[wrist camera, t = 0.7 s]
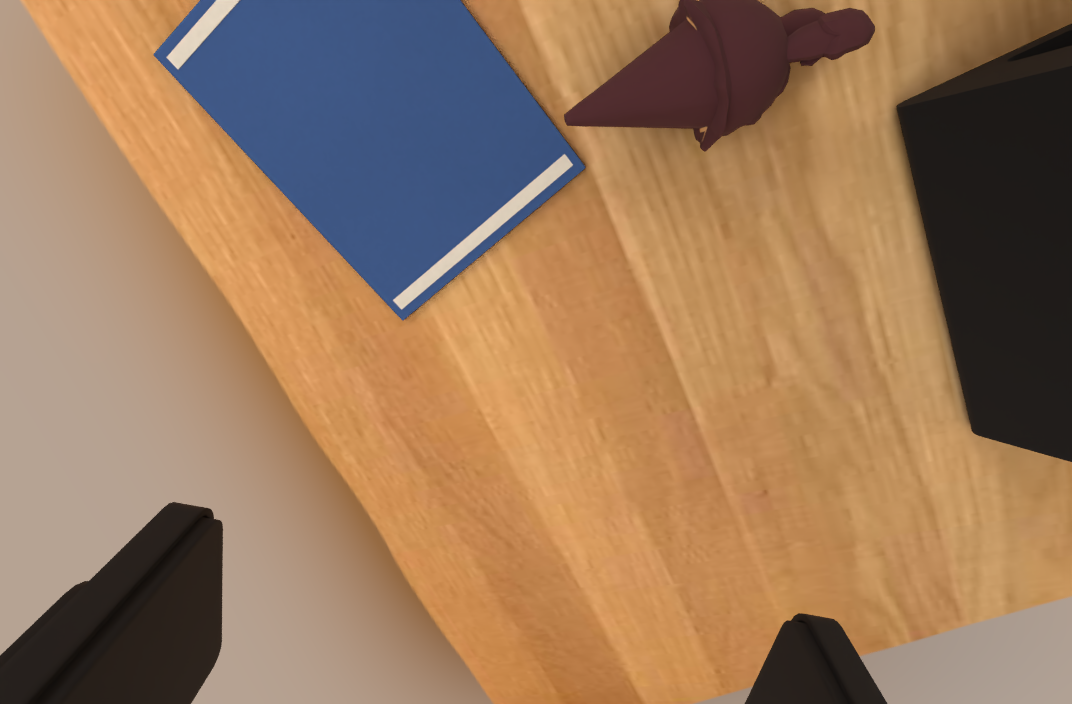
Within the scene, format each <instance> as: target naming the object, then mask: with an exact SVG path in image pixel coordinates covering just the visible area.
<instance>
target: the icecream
mask: <svg viewBox="0 0 1072 704" xmlns="http://www.w3.org/2000/svg"><path fill="white" fill-rule="evenodd" d="M669 28H670V32H669V33H668V34H667V35H665V36H664V37H663V38H662V39H660V40H659V41H658V42H657V43H655V44H654V45H653V46H651V47H650V48H649V49H648V50H646V51H645V52H644V53H642V54H641V55H640V56H639V57H637V58H636V59H635V60H634V61H632V62H631V63H630V64H628V65H627V66H626V67H625V68H623V69H622V70H621V71H620V72H618V73H617V74H616V75H614V76H613V77H612V78H611V79H609V80H608V81H607V82H606V83H604V84H603V85H602V86H600V87H599V88H598V89H597V90H595V91H594V92H593V93H591V94H590V95H589V96H587V97H586V98H585V99H583V100H582V101H581V102H579V103H578V104H577V105H576V106H574V107H573V108H572V109H571V110H569V111H568V112H567V113H566V114H565V115H564V119H565V122H566V124H567V125H568V126H599V127H645V128H688V129H694V135H695V138H696V140H697V141H699V142H700V148H701V149H702V150H703V151H707V150H708V149H709V148H710V147H711V146H712V145H713V144H714V143H715V142H716V141H717V140H718V139H719V138H720V137H721V136H726V135H728V134H730V133H732V132H733V131H735V130H736V129H738V128H739V127H742V126H744V125H753V124H755V123H756V122H757V121H758V120H759V119H760V118H761V116H762V114H763V113H764V112H765V111H766V110H767V109H768V108H769V107H770V106H771V105H772V103H773V102H774V100H775V98H776V97H777V96H779V95H780V94H781V93H782V92H783V90H784V88H785V86H786V84H787V82H788V79H789V74H790V64H789V63H791V62H799V61H800V63H801V66H804V65H808V66H812V65H813V64H814V63H815V62H817V61H818V60H819V59H820V58H822V57H826V58H829V59H831V60H834V59H838V58H839V57H841V56H842V55H844V54H846V53H848V52H851V51H854V50H857V49H859V48H861V47H863V46H864V45H866V44H868V43H869V41H870V40H871V38H872V36H873V34H874V32H875V26H874V24H873V23H872V21H871V20H870V18H869V17H868V15H867V14H866V13H865V12H864V11H862V10H857V9H852V8H847V9H843V10H839V11H834V12H830V13H827V14H825V13H823V12H822V11H819V10H817V9H815V8H808V9H799V10H794V11H792V12H790V13H788V14H786V15H784V16H783V17H781V18H780V17H779V16H778V15H777V14H776V13H774V12H773V11H772V10H771V9H769V8H768V7H766V6H765V5H763V4H762V3H760V2H759V1H757V0H700V1H696V0H680V1H679V7H678V8H677V10H676V12H675V13H674V15H673V17H672V19H671V22H670V26H669Z"/></svg>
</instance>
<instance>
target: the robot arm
mask: <svg viewBox="0 0 1072 704" xmlns="http://www.w3.org/2000/svg"><path fill="white" fill-rule="evenodd" d="M222 545H223V526H222V522H221V521H220V520H216V519H214V516H213V512H212V510H211V509H209V508H204V507H198V506H192V505H187V504H181V503H176V502H173V503H169V504H168V505H167V506H165V507H164V508H163V509H162V510H161V511H160V512H159V513H158V514H157V515H156V516H155V517H154V518H153V519H152V520H151V521H150V522H149V523H148V524H147V525H146V526H145V527H144V528H143V529H142V530H141V531H140V532H139V533H138V534H136V536H135V537H133V538H132V539H131V540H130V541H129V543H127V544H126V545H125V546H124V547H123V548H122V549H121V550H120V551H119V552H118V553H117V554H116V555H115V556H114V557H113V558H112V559H111V560H110V561H109V562H108V563H107V564H106V565H105V566H104V567H103V568H102V569H101V570H100V571H99V572H98V573H97V574H96V575H95V576H94V577H93V578H92V579H91V580H90V581H84V582H82V583H80V584H77V585H75V586H74V587H73V588H71V589H70V590H69V591H68V592H66V593H65V594H64V595H63V596H62V597H61V598H60V599H59V600H58V601H57V602H56V603H55V604H54V605H53V606H51V607H50V608H49V610H47V611H46V612H45V613H44V614H43V615H42V616H41V617H40V618H39V619H38V620H37V621H36V622H35V623H34V624H33V625H32V626H31V627H30V628H29V629H28V630H26V631H25V633H23V634H22V635H21V636H20V637H19V638H18V639H17V640H16V641H15V642H14V643H13V644H12V645H11V646H10V647H9V648H8V649H7V650H6V651H5V652H4V653H2V654H1V655H0V704H191V703H192V701H193V699H194V698H195V696H196V695H197V693H198V691H199V689H200V688H201V686H202V685H203V683H204V682H205V680H206V678H207V677H208V675H209V674H210V672H211V670H212V669H213V667H214V665H215V663H216V660H217V658H218V656H219V652H220V649H221V642H222V551H223V546H222ZM745 704H887V702H886V701H885V699H884V697H883V696H882V694H881V692H880V691H879V689H878V687H877V685H876V684H875V682H874V680H873V679H872V677H871V676H870V674H869V672H868V670H867V669H866V667H865V665H864V664H863V662H862V660H861V659H860V657H859V655H858V653H857V652H856V650H855V648H854V647H853V645H852V643H851V642H850V640H849V638H848V637H847V635H846V633H845V632H844V630H843V628H842V627H841V626H840V624H839V623H838V622H837V621H835V620H834V619H830V618H825V617H819V616H813V615H808V614H800V613H798V614H797V615H795V616H794V617H793V619H792V620H791V621H786V622H784V624H783V625H782V627H781V629H780V631H779V633H778V635H777V637H776V639H775V642H774V644H773V646H772V648H771V650H770V652H769V654H768V656H767V658H766V660H765V662H764V665H763V667H762V669H761V671H760V673H759V675H758V677H757V679H756V681H755V683H754V686H753V688H752V690H751V692H750V694H749V696H748V698H747V700H746V702H745Z"/></svg>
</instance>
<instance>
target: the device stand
mask: <svg viewBox="0 0 1072 704" xmlns="http://www.w3.org/2000/svg"><path fill="white" fill-rule="evenodd" d="M896 107H897V111H898V116H899V120H900V124H901V128H902V133H903V137H904V141H905V146H906V150H907V154H908V158H909V163H910V167H911V171H912V176H913V180H914V184H915V188H916V193H917V197H918V201H919V206H920V210H921V214H922V218H923V223H924V227H925V231H926V236H927V240H928V244H929V248H930V253H931V257H932V261H933V266H934V270H935V274H936V278H937V283H938V287H939V291H940V296H941V300H942V304H943V308H944V313H945V317H946V321H947V326H948V330H949V334H950V338H951V343H952V347H953V351H954V356H955V360H956V364H957V368H958V373H959V377H960V381H961V386H962V390H963V394H964V398H965V403H966V407H967V411H968V416H969V420H970V424H971V428H972V431H973V433H974V434H976V435H978V436H982V437H985V438H989V439H992V440H996V441H999V442H1003V443H1006V444H1010V445H1013V446H1017V447H1021V448H1024V449H1028V450H1031V451H1035V452H1038V453H1042V454H1045V455H1049V456H1052V457H1056V458H1060V459H1063V460H1067V461H1070V462H1072V24H1070V25H1068V26H1065V27H1063V28H1061V29H1059V30H1057V31H1055V32H1052V33H1050V34H1048V35H1046V36H1044V37H1042V38H1039V39H1037V40H1035V41H1033V42H1031V43H1029V44H1027V45H1024V46H1022V47H1020V48H1018V49H1016V50H1014V51H1011V52H1009V53H1007V54H1005V55H1003V56H1001V57H998V58H996V59H994V60H992V61H990V62H988V63H985V64H983V65H981V66H979V67H977V68H975V69H973V70H970V71H968V72H966V73H964V74H962V75H960V76H957V77H955V78H953V79H951V80H949V81H947V82H944V83H942V84H940V85H938V86H936V87H934V88H932V89H929V90H927V91H925V92H923V93H921V94H919V95H916V96H914V97H912V98H910V99H908V100H906V101H904V102H902V103H900V104H898V105H897V106H896Z"/></svg>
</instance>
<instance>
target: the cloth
mask: <svg viewBox="0 0 1072 704" xmlns="http://www.w3.org/2000/svg"><path fill="white" fill-rule="evenodd" d="M154 56H155V57H156V58H157V59H158V60H159V61H160V62H161V63H162V65H163V66H164V67H165V68H166V69H167V70H168V71H169V72H170V73H171V74H172V75H173V76H174V77H175V78H176V79H177V81H178V82H179V83H180V84H181V85H182V86H183V87H184V88H185V89H186V90H187V91H188V92H189V93H190V94H191V95H192V97H193V98H194V99H195V100H196V101H197V102H198V103H199V104H200V105H201V106H202V107H203V108H204V109H205V110H206V111H207V113H208V114H209V115H210V116H211V117H212V118H213V119H214V120H215V121H216V122H217V123H218V124H219V125H220V126H221V127H222V129H223V130H224V131H225V132H226V133H227V134H228V135H229V136H230V137H231V138H232V139H233V140H234V141H235V142H236V143H237V145H238V146H239V147H240V148H241V149H242V150H243V151H244V152H245V153H246V154H247V155H248V156H249V157H250V158H251V159H252V161H253V162H254V163H255V164H256V165H257V166H258V167H259V168H260V169H261V170H262V171H263V172H264V173H265V174H266V175H267V177H268V178H269V179H270V180H271V181H272V182H273V183H274V184H275V185H276V186H277V187H278V188H279V189H280V190H281V191H282V193H283V194H284V195H285V196H286V197H287V198H288V199H289V200H290V201H291V202H292V203H293V204H294V205H295V206H296V207H297V209H298V210H299V211H300V212H301V213H302V214H303V215H304V216H305V217H306V218H307V219H308V220H309V221H310V222H311V223H312V225H313V226H314V227H315V228H316V229H317V230H318V231H319V232H320V233H321V234H322V235H323V236H324V237H325V238H326V239H327V241H328V242H329V243H330V244H331V245H332V246H333V247H334V248H335V249H336V250H337V251H338V252H339V253H340V254H341V255H342V257H343V258H344V259H345V260H346V261H347V262H348V263H349V264H350V265H351V266H352V267H353V268H354V269H355V270H356V271H357V272H358V274H359V275H360V276H361V277H362V278H363V279H364V280H365V281H366V282H367V283H368V284H369V285H370V286H371V287H372V288H373V290H374V291H375V292H376V293H377V294H378V295H379V296H380V297H381V298H382V299H383V300H384V301H385V302H386V303H387V304H388V306H389V307H390V308H391V309H392V310H393V311H394V312H395V313H396V314H397V315H398V316H399V317H400V318H401V319H402V320H404V319H406V318H407V317H408V316H409V315H410V314H412V313H413V312H414V311H415V310H416V309H417V308H419V307H420V306H421V305H422V304H423V303H425V302H426V301H427V300H428V299H429V298H431V297H432V296H433V295H434V294H435V293H437V292H438V291H439V290H440V289H441V288H443V287H444V286H445V285H446V284H447V283H449V282H450V281H451V280H452V279H453V278H455V277H456V276H457V275H458V274H459V273H461V272H462V271H463V270H464V269H465V268H467V267H468V266H469V265H470V264H471V263H473V262H474V261H475V260H476V259H477V258H479V257H480V256H481V255H482V254H483V253H485V252H486V251H487V250H488V249H489V248H491V247H492V246H493V245H494V244H495V243H496V242H498V241H499V240H500V239H501V238H502V237H504V236H505V235H506V234H507V233H508V232H510V231H511V230H512V229H513V228H514V227H516V226H517V225H518V224H519V223H520V222H522V221H523V220H524V219H525V218H526V217H528V216H529V215H530V214H531V213H532V212H534V211H535V210H536V209H537V208H538V207H540V206H541V205H542V204H543V203H544V202H546V201H547V200H548V199H549V198H550V197H552V196H553V195H554V194H555V193H556V192H558V191H559V190H560V189H561V188H562V187H564V186H565V185H566V184H567V183H568V182H570V181H571V180H572V179H573V178H574V177H575V176H577V175H578V174H579V173H580V172H581V171H583V170H584V169H585V168H586V167H585V166H584V164H583V163H582V162H581V160H580V159H579V158H578V156H577V155H576V154H575V152H574V151H573V150H572V148H571V147H570V146H569V144H568V143H567V142H566V140H565V139H564V138H563V136H562V135H561V134H560V132H559V131H558V130H557V128H556V127H555V126H554V124H553V123H552V122H551V120H550V119H549V118H548V116H547V115H546V114H545V112H544V111H543V110H542V108H541V107H540V106H539V104H538V103H537V102H536V100H535V99H534V98H533V96H532V95H531V94H530V92H529V91H528V90H527V88H526V87H525V86H524V84H523V83H522V82H521V80H520V79H519V78H518V76H517V75H516V74H515V72H514V71H513V70H512V68H511V67H510V66H509V64H508V63H507V62H506V60H505V59H504V58H503V56H502V55H501V54H500V52H499V51H498V50H497V48H496V47H495V46H494V44H493V43H492V42H491V40H490V39H489V38H488V36H487V35H486V34H485V32H484V31H483V30H482V28H481V27H480V26H479V24H478V23H477V22H476V20H475V19H474V18H473V16H472V15H471V14H470V12H469V11H468V10H467V8H466V7H465V6H464V4H463V3H462V2H461V0H200V1H199V2H198V4H197V5H196V6H195V7H194V8H193V9H192V11H191V12H190V13H189V14H188V15H187V16H186V17H185V19H184V20H183V21H182V22H181V23H180V24H179V26H178V27H177V28H176V29H175V30H174V31H173V32H172V34H171V35H170V36H169V37H168V38H167V39H166V41H165V42H164V43H163V44H162V45H161V46H160V47H159V49H158V50H157V51H156V52H155V53H154Z"/></svg>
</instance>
